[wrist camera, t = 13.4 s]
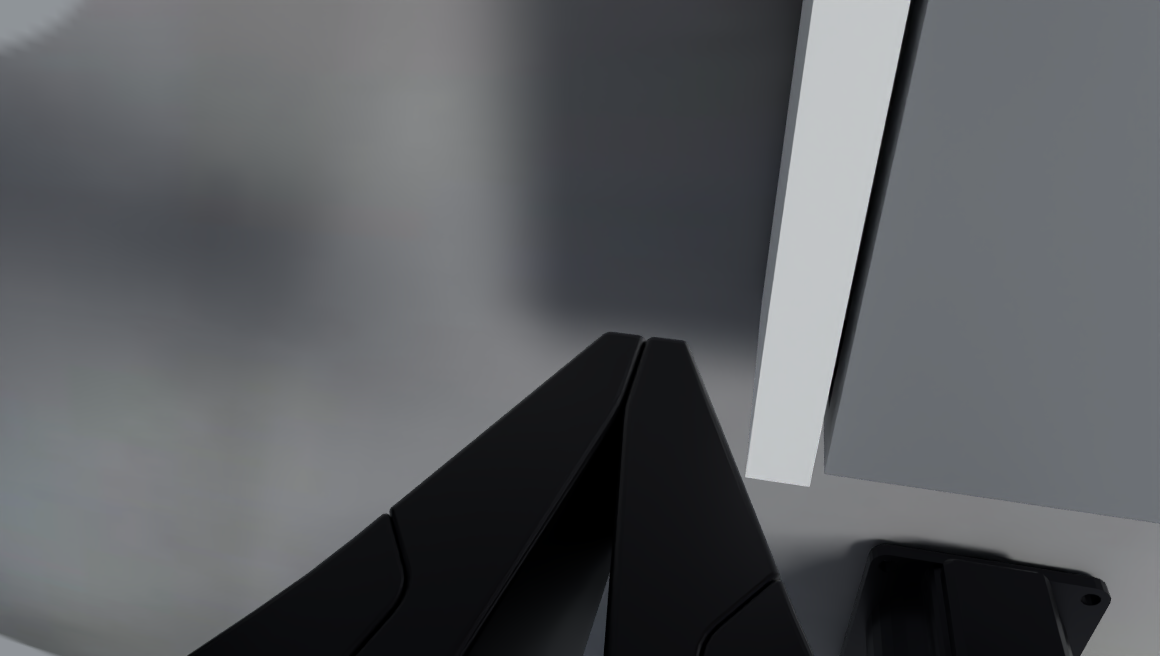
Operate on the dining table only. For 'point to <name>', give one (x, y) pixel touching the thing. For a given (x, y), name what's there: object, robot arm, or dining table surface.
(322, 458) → the dining table surface
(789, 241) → the grey boxy piece
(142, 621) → the dining table surface
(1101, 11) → the block
